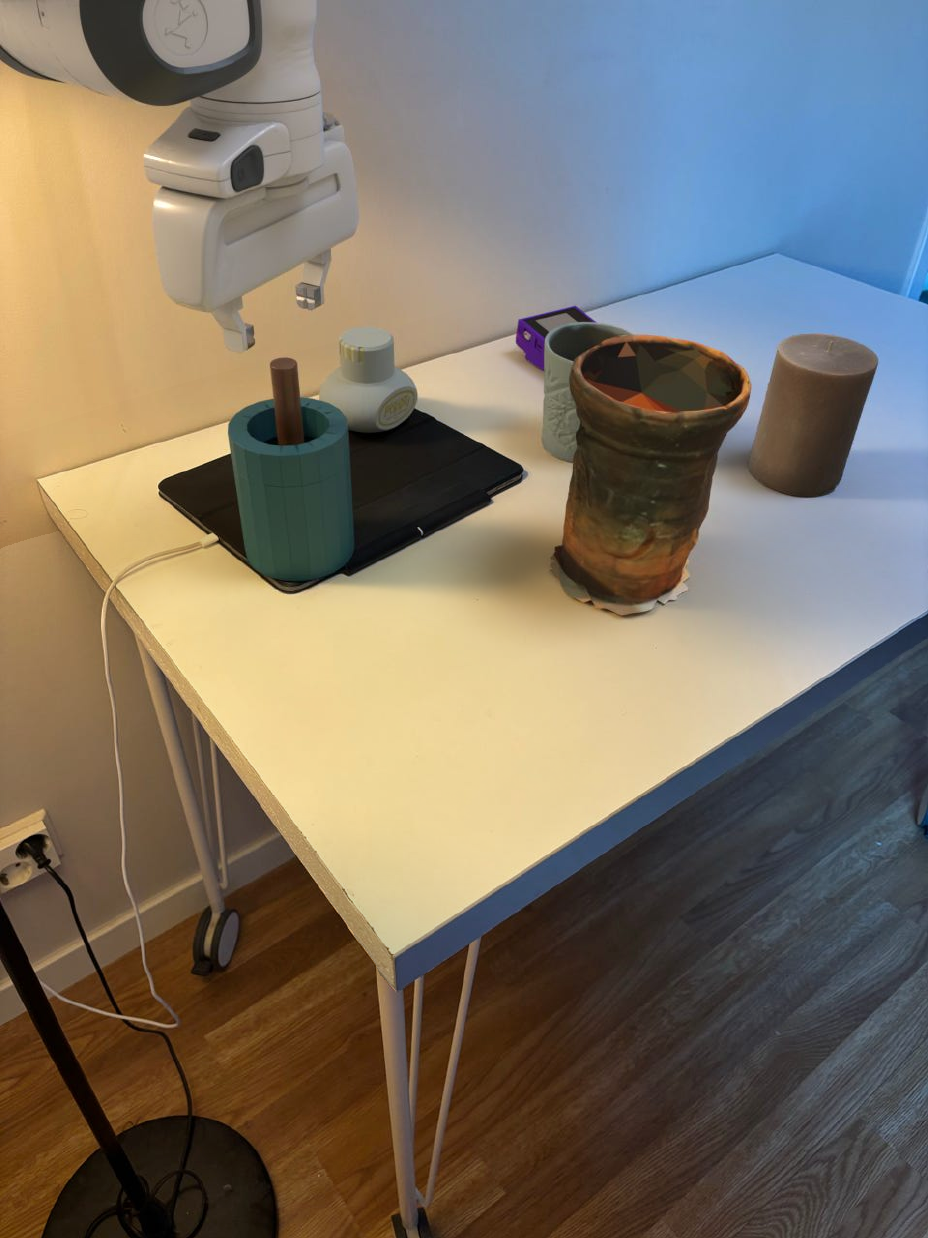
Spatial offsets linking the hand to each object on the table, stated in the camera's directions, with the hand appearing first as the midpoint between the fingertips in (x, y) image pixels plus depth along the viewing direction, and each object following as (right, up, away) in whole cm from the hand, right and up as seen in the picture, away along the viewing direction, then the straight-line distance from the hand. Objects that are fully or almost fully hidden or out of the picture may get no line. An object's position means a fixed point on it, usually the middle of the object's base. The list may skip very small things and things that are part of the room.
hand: (277, 326), depth 75 cm
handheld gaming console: (+29, +8, +44) cm, 54 cm away
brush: (0, -16, +14) cm, 21 cm away
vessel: (+30, -19, +13) cm, 38 cm away
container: (-1, -16, +14) cm, 22 cm away
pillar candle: (+50, -8, +27) cm, 57 cm away
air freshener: (+4, -1, +33) cm, 33 cm away
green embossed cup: (+28, -4, +30) cm, 41 cm away
